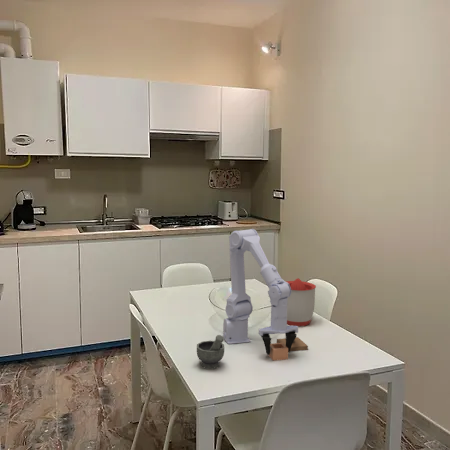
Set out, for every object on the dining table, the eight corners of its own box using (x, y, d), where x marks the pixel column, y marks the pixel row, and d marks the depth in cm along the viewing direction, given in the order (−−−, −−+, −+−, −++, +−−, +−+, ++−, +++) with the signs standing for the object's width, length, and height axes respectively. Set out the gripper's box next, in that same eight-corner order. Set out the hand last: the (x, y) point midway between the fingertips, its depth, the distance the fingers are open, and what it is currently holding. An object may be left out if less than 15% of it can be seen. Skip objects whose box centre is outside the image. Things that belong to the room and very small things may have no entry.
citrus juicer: (273, 316, 210) (274, 273, 208) (311, 317, 210) (313, 274, 207) (276, 328, 195) (277, 282, 192) (317, 329, 194) (319, 283, 192)
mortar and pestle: (190, 363, 158) (191, 330, 157) (212, 357, 164) (212, 324, 163) (210, 375, 150) (210, 340, 148) (232, 368, 155) (233, 334, 154)
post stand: (285, 351, 170) (285, 337, 169) (276, 342, 178) (276, 329, 178) (307, 349, 172) (308, 335, 172) (297, 340, 181) (298, 327, 180)
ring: (273, 360, 162) (273, 349, 161) (267, 354, 167) (267, 343, 167) (287, 359, 163) (288, 348, 163) (281, 353, 169) (282, 342, 168)
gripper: (263, 321, 158) (262, 358, 159) (302, 318, 161) (301, 355, 163) (256, 314, 164) (255, 351, 166) (294, 312, 168) (293, 347, 170)
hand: (277, 352), depth 165 cm, fingers open, 7 cm apart
